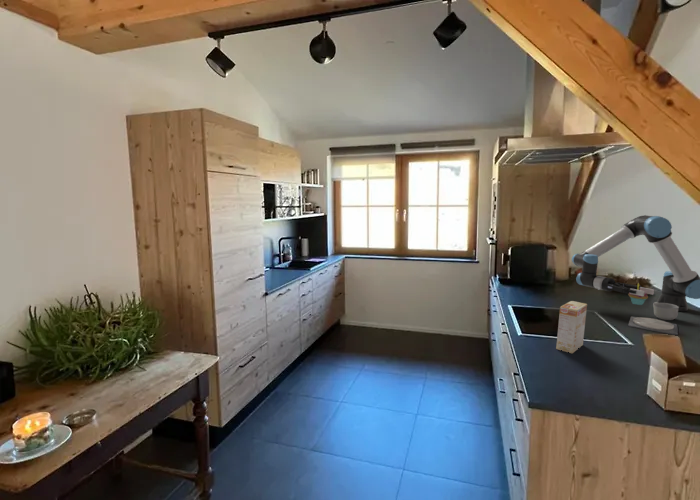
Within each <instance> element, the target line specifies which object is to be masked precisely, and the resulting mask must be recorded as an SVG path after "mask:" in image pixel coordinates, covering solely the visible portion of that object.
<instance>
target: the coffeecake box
mask: <svg viewBox="0 0 700 500" xmlns="http://www.w3.org/2000/svg"><path fill="white" fill-rule="evenodd" d="M587 307H588V304H587V303H585V302H579V301H576V300H575V301H574V300H570V301H568V302H566V303H565V304H562V305H561V306H560V307H559V314H558V315H559V316H558V325H557V326H558V327H557V335H556V336H557V337H556V347H555V349H556V350H557V351H558V350H559V351H561V350H562V351H561V352H566V353H568V352H569V354H574V353H575V352H576V351H578V350H579V349H580V348H581V347H582V346H583V345H584V337H585V327H586V319H587ZM578 348H579V349H578Z"/></svg>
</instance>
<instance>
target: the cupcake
mask: <svg viewBox="0 0 700 500" xmlns="http://www.w3.org/2000/svg"><path fill="white" fill-rule="evenodd" d="M637 286H638V287H637V290H639V286H640V283H639V282H638V283H637ZM628 296H629V298H630V300H631V301H630V302H631V303H632V305H639V306H643V305H644V303H645V302H646V300H647V299H649V294H646V293H644V296H639V295H634V294H630V293H629V295H628Z"/></svg>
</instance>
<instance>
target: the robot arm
mask: <svg viewBox="0 0 700 500" xmlns="http://www.w3.org/2000/svg"><path fill="white" fill-rule="evenodd" d="M672 228H673V226H672V223H671V221H670V220H669V219H668V218H666V217H663V216H660V215H646V214H645V215H640V216H636V217H635V218H633V219H631V220H629V221H627V222H626V223H624V224H622V225H621V228H619V229H618V230H616V231H615V232H613V233H611V234H610V235H609V236H606V237H605V238H603V239H602V240H600V241H598V242H596V244H593V245H592V246H591V247H589V248H587V249H586V250H583V251H582V252H581V253H575V254H573V256H572V257H571V262H572V263H573V264H574V266H577V267H579V268H582V269H581V272H579V273H577V276H576V278H575V279H576V283H577V284H578V285H580V286H584V287H588V288H593V289H597V290H598V291H605V292H612V291H615V292H617V293H622V294H626V295H628V296H629V293H630V294H634V295H639V296H644V293H646V294H647V295H652V296H653V295H654V293H655V289H652V288H647V287H642V285H640V284H639V290H637V287H638V285H636V284H629V283H626V282H625V283H624V282H616V280H615V279H614V278H611V277H606V276H602V275H601V276H600V275H597V273H598V272H597V271H598V264H599V258H600V257H601V256H603V255H604V254H606V253H608V252H609V251H611V250H613V249H615V248H616V247H617V246H619V245H621V244H623V243H625V242H626V241H628V240H629V239H634V238H636V237H639V236H644V237H645V238H646V240H647V241H648V243H650V244H653V245H654V247H655V249H656V250H657V251H658V253H659V255H660V256H661V258H662V259H663V261H664V263H665V264H666V266H667V267H668V269H669V270H667V271H665V272H664V274H663V276H662V277H663V278H662V285H661V293H660V294H659V297H658V298H657V301H656V302H658V303H668V304H673V305H676V306H678V307H679V308H678V312H687V311H688V309H689V306H688V301H687V298H689V299H695V300H697V299H698V300H700V276H699V274H698V272H697V271H696V270H695V271H694V270H692V268H691V267H690V265H689V264H688V262H687V261H686V259H685V258H684V256H683V254H682V253H681V251H680V250H679V248H678V247H677V245H676V243H675V241H674V240H673V239H672V235H673V232H672Z"/></svg>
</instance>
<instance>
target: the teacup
mask: <svg viewBox="0 0 700 500" xmlns="http://www.w3.org/2000/svg"><path fill="white" fill-rule="evenodd" d="M652 308H653V314H654V316H655V317H657V318H658V320H662V321H673V320H674V319H677V317H678V315H679V311H678V308H679V307H678V306H676V305H673V304H668V303H658V302H657V301H654V302H653V304H652ZM657 318H656V319H657Z"/></svg>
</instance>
